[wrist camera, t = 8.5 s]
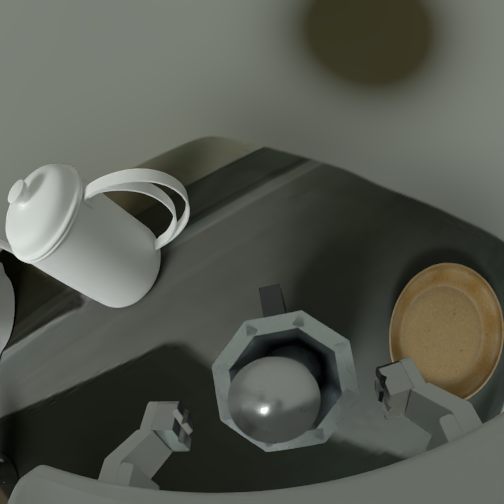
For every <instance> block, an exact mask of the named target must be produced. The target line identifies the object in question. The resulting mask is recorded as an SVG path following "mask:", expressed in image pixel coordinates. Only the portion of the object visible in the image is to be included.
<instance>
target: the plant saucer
mask: <svg viewBox="0 0 504 504" xmlns="http://www.w3.org/2000/svg"><path fill="white" fill-rule="evenodd" d="M503 339H504V322H503V315H502V310H501V307H500V304H499V301H498V299H497V296H496V294H495V292H494V291H493V289H492V288H491V286H490V285H489V283H488V282H487V281H486V280H485V279H484V278H483V277H482V276H481V275H480V274H478V273H477V272H475V271H474V270H473V269H471V268H469V267H466V266H464V265H461V264H456V263H440V264H436V265H432V266H430V267H428V268H426V269H424V270H423V271H421V272H419V273H418V274H417V275H415V276H414V277H413V278H412V279H411V280H410V281H409V282H408V284H407V285H406V286H405V288H404V289H403V291H402V292H401V294H400V296H399V298H398V299H397V302H396V304H395V307H394V310H393V313H392V317H391V322H390V329H389V347H390V354H391V359H392V362H395V361H399V360H402V359H405V358H408V357H411V358H412V359H413V361H414V363H415V364H416V366H417V368H418V370H419V372H420V373H421V375H422V377H423V379H424V381H425V382H426V383H431V384H433V385H435V386H437V387H439V388H441V389H443V390H445V391H447V392H449V393H451V394H453V395H455V396H457V397H459V398H461V399H463V400H467V399H468V398H470V397H471V396H473V395H474V394H476V393H477V392H478V391H479V390H480V389H481V388H482V387H483V386H484V385H485V384H486V383H487V381H488V380H489V378H490V377H491V376H492V374H493V372H494V370H495V368H496V366H497V364H498V361H499V359H500V355H501V352H502V346H503Z"/></svg>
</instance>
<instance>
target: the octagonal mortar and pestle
mask: <svg viewBox="0 0 504 504" xmlns="http://www.w3.org/2000/svg"><path fill="white" fill-rule="evenodd" d="M259 292H260V298H261V304H262V309H263V315H264V318H260V319H255V320H249V321H245V322H244V323H243V324H242V326H241V327H240V328H239V330H238V331H237V333H236V334H235V335H234V337H233V338H232V339H231V341H230V342H229V344H228V345H227V346H226V348H225V349H224V350H223V352H222V353H221V354H220V356H219V357H218V358H217V360H216V361H215V362H214V364H213V365H212V371H213V377H214V384H215V390H216V396H217V402H218V408H219V414H220V419H221V421H223V422H224V423H225V424H227V425H228V426H230V427H231V428H232V429H234V430H235V431H237V432H238V433H239V434H241V435H242V436H244V437H245V438H247V439H248V440H249V441H251V442H252V443H254V444H255V445H257V446H258V447H260V448H262V449H263V450H265V451H266V452H270V451H278V450H285V449H292V448H298V447H304V446H310V445H315V444H320V443H325V442H326V441H327V439H328V438H329V437H330V436H331V434H332V433H333V432H334V431H335V429H336V428H337V427H338V425H339V424H340V423H341V421H342V420H343V419H344V417H345V416H346V415H347V413H348V412H349V411H350V409H351V408H352V406H353V405H354V403H355V402H356V401H357V399H358V398H359V396H360V395H359V389H358V384H357V378H356V372H355V367H354V362H353V356H352V351H351V346H350V341H349V340H347V339H346V338H344V337H343V336H341V335H340V334H338V333H336V332H335V331H333V330H332V329H330V328H328V327H327V326H325V325H324V324H322V323H321V322H319V321H317V320H316V319H314V318H313V317H311V316H310V315H308V314H307V313H305V312H303V311H302V310H300V311H296V312H291V313H287V312H286V306H285V302H284V298H283V295H282V291H281V288H280V285H279V284H276V285H271V286H266V287H261V288H259ZM284 346H298V347H301V348H304V349H306V350H308V351H309V352H310V353H312V354H313V355H314V357H315V358H316V359H317V361H318V363H319V365H320V369H321V381H320V384H319V391H320V398H321V401H320V409H319V412H318V415H317V417H316V419H315V421H314V423H313V424H312V426H311V427H310V428H309V429H308V430H307V431H306V432H305V433H304V434H302V435H301V436H299V437H298V438H295V439H293V440H291V441H288V442H284V443H276V444H271V443H263V442H260V441H256V440H254V439H252V438H250V437H248V436H247V435H245V434H244V433H243V432H242V431H241V430H240V429H239V428H238V427H237V426H236V425H235V423H234V422H233V420H232V418H231V416H230V413H229V409H228V403H227V399H228V391H229V388H230V385H231V383H232V381H233V379H234V377H235V376H236V375H237V373H238V372H239V371H240V370H241V369H242V368H243V367H245V366H246V365H248V364H249V363H251V362H253V361H255V360H258V359H261V358H265V357H267V356H268V355H269V354H270V353H271V352H273V351H274V350H276V349H278V348H280V347H284Z"/></svg>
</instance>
